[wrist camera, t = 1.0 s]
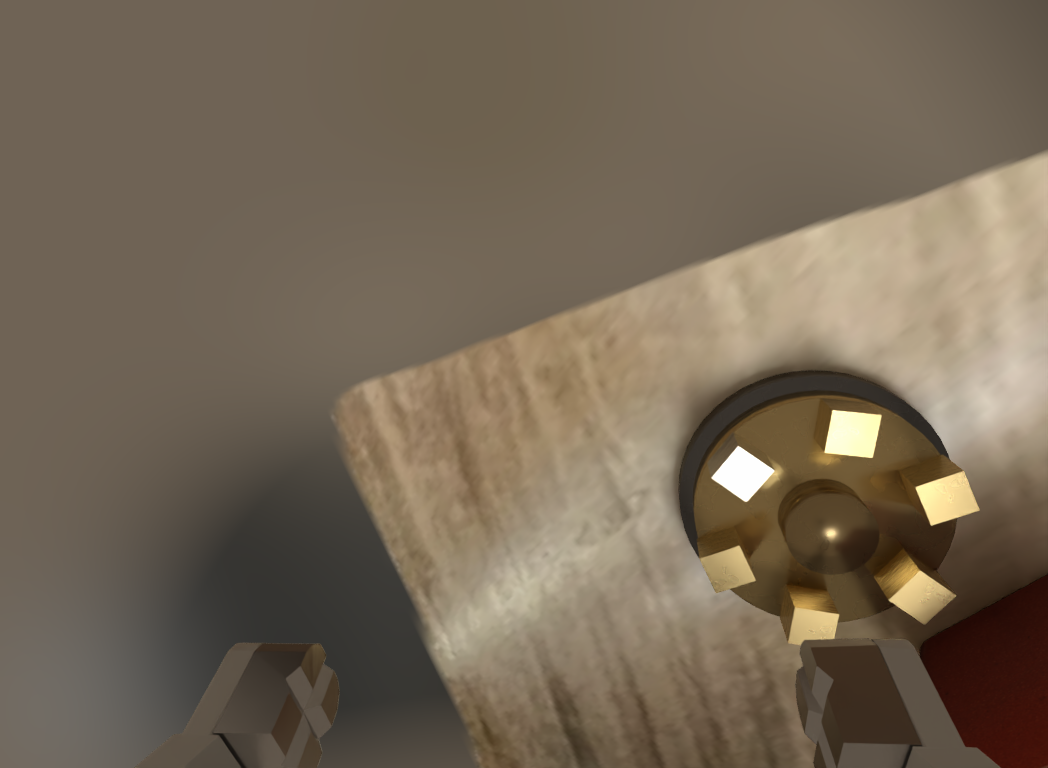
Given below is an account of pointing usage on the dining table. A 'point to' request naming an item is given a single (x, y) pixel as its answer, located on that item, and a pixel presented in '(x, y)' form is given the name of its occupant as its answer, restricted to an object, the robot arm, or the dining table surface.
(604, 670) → the dining table surface
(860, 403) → the ring nut
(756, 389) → the nut base
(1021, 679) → the plant pot
